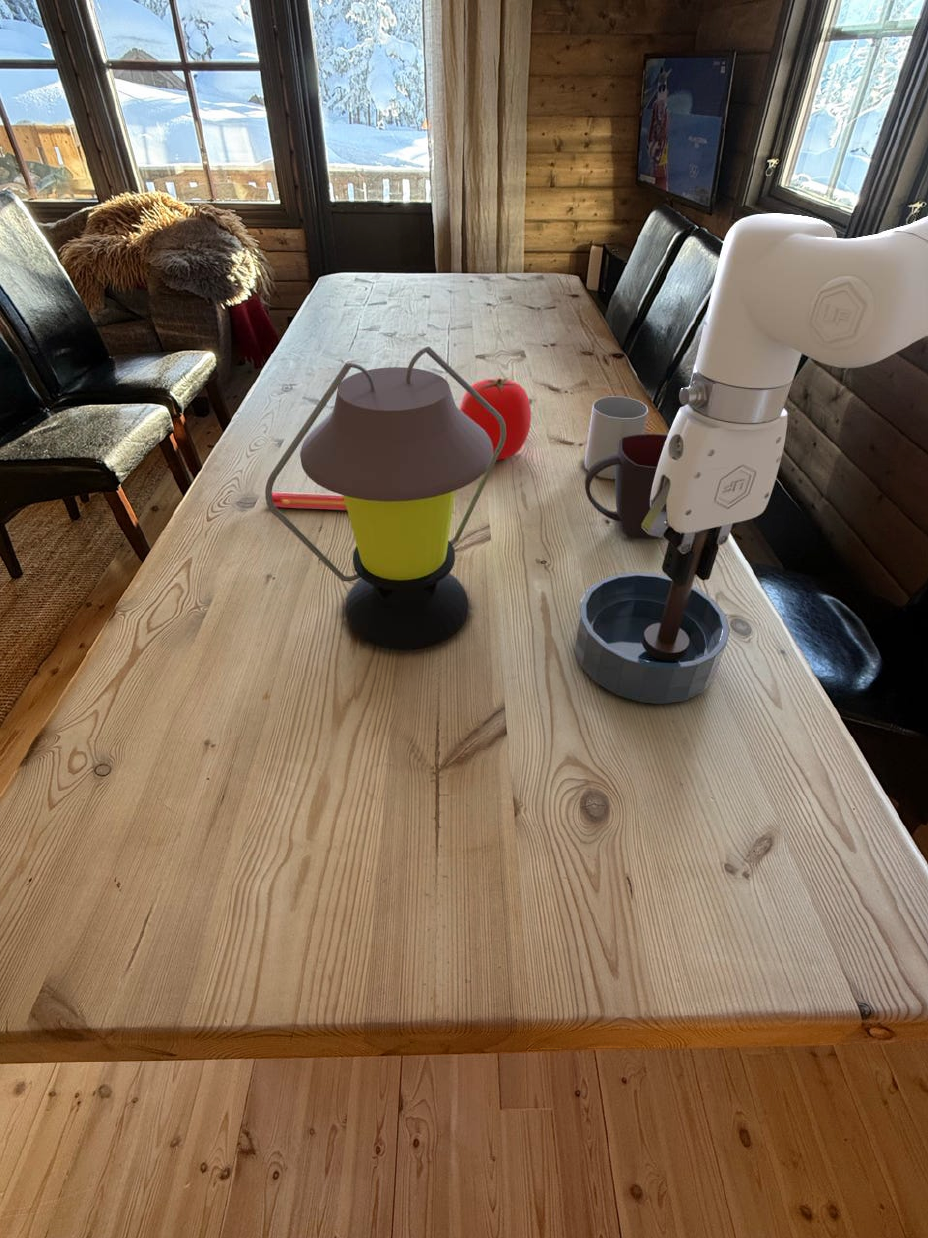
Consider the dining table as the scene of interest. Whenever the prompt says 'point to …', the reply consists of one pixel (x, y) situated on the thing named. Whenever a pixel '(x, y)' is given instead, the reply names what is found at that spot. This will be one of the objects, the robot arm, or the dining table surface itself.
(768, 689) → the dining table surface
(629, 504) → the mug
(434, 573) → the lantern
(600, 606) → the bowl
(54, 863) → the dining table surface
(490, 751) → the dining table surface
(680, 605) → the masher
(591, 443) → the cup
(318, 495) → the red bar
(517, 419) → the tomato
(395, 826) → the dining table surface
